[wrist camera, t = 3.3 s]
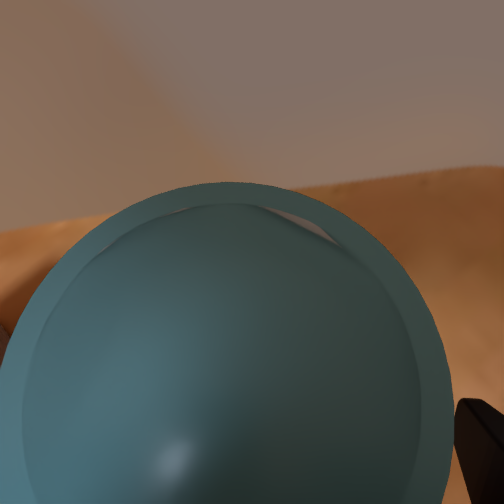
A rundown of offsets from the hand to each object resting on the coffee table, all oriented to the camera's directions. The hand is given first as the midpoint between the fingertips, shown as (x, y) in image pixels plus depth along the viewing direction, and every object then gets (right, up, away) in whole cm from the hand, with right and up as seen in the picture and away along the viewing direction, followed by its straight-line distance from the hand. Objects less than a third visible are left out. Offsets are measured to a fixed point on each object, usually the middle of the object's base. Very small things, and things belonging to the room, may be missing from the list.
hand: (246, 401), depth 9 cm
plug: (0, -3, +7) cm, 8 cm away
